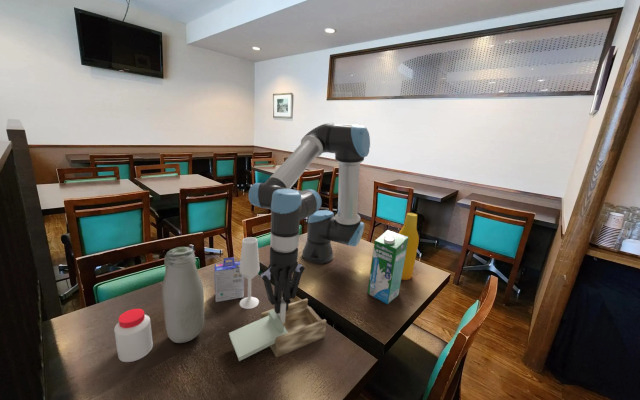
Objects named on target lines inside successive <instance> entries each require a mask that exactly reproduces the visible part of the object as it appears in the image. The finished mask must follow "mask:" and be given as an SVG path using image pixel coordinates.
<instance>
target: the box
mask: <svg viewBox="0 0 640 400" xmlns="http://www.w3.org/2000/svg"><path fill="white" fill-rule="evenodd" d="M308 301H309V299H308V298H307V297H306V298H303V299H300V300H297V301H293V302H290V303H289V305H288V310H287V311H286V315H285V323H283V325H284V327H285V328H286V330H287V331H288V333H287V334H284V335H282V336H279V337H276V343H274V344H272V345H270V346H269V347H270V349H271V351H272V352H273V355H274V356H275V358H279V357H281V356H284V355H286V354H289V353H291V352H294V351H296V350H298V349H301V348H302V347H305V346H307V345H309V344H312V343H314V342H317V341H319V340H322V339H324V338H325V337H326V330H327V320H326V319H325V318H324V319H322V318H321V317H320V316H319V315H318V314H317V313H316V311H315V310H314V309H313V308H312V307H311V306H309V305H308V303H309V302H308ZM271 310H274V308H272V309H268V310H266V311H262V312H260V319H262V318H264V317H266V316H268V315H269V311H271ZM274 311H275V310H274ZM275 313H276V312H275ZM276 314H277V313H276Z"/></svg>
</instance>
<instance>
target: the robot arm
mask: <svg viewBox="0 0 640 400" xmlns="http://www.w3.org/2000/svg"><path fill="white" fill-rule="evenodd" d="M370 137H371V136H370V132H369V130H368V128H367V127H366V126H364V125H361V124H360V125H359V124H355V123H354V124H352V123H334V122H329V123H324V124H320V125H318V126H316V127H315V128H313V129H311V130H310V131H308V132H307V133H306V134H305V135H304V136H303V137H302V138H301V139H300V144H299V145H298V147H296V148H295V150H294V151H293V152H292V153H291V154H290V155H289V156H288V157H287V158H286V159H285V160H284V161H283V163H282V164H281V165H280V166H279V167H278V168H277V169H276V170H275V171H274V172H273V173H272V174H271V175H270V177H268V179H267V180H266V181H265V182H255V183H253V184H252V185H251V186H250V188H249V190H248V195H247V197H248V201H249V202H250V203H249V204H251V205H253V206H254V207H258V208H261V209H267V210H270V218H271V219H270V240H269V241H270V248H269V264H268V265H267V270H266V271H264V272H263V271H262V272H260V273H259V277H260V278H261V279H262V280H263V284H264V288H265V292H266V296H267V299H268V301H269V302H270V304H271V305H272V306H273V307H274V308H273V309H274V310H275V312H276V313H277V316H278V317H279V319H280V320H281V322H282V323H285V315H286V311H287V310H288V305H289V304H290V303H292V301H291V299H295V298H296V296H297V293H298V289H299V285H300V281H301V278H302V275H303V273H304V272H305V270H306V268H305V266H304V265H302V263H299V262H298V256H299V255H298V254H299V242H300V241H299V239H300V221H303V220H304V219H306V218H308V220H307V231H306V232H307V235H306V242H305V245H304V248H303V250H302V252H301V253H302V254H301V257H302V258H303V259H304V260H305V261H307V262H309V263H313V264H326V263H329V262H331V261H332V260H333V258H334V253H333V247H332V244H331V242H335V243H338V244H342V245H346V246H350V247H357V246H358V245H359V243H360V242H361V239H362V236H363V233H364V230H365V222H363V221H361V216H360V214H358V210H359V209H358V206H359V189H360V172H361V168H360V167H361V163H362V162H364V160H365V158H366V157H368V155H369V153H370V148H371V138H370ZM324 153H327V154H328V153H330V154H335V155H334V160H335V161H336V162H337V163H338V185H337V186H338V191H337V192H338V193H337V194H338V196H337V197H338V199H337V200H338V201H337V205H338V206H337V213H336V214H335V215H334V212H333V211H331V210H327V209H325V210H324V209H323V210H322V209H321V210H320V208H321V206H322V198H321V197H322V196H321V195H320V194H319V192H318V191H316V190H314V189H311V188H310V189H304V190H299V189H294V188H293V189H292V187H293V186H294V185H295V183H296V182H297V181H298V180H299V178H300V177H301V176H302V175H303V174H304V172H305V171H306V170H307V169H308V167H309V166H310V165H311V164H312V163H313V161H314V160H315V159H316V158H319V157H321V155H323V154H324ZM271 276H273V279H274V289H273V286H272V281H271ZM273 290H274V291H273Z"/></svg>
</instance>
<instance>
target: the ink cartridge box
mask: <svg viewBox="0 0 640 400" xmlns="http://www.w3.org/2000/svg"><path fill="white" fill-rule="evenodd" d="M239 269H240V260H239V261H235V257H233V256H232V257H231V256H230V257H224V258H223V263H217V264H216V263H215V264H214V291H215V292H214V293H215V295H214V296H215V303H219V302H224V301H229V300H235V299H241V298H242V299H243V298H245V295H244V293H245V285H244V284H245V277H243V276H242V275H241V274H240V271H239Z"/></svg>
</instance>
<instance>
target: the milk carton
mask: <svg viewBox="0 0 640 400" xmlns="http://www.w3.org/2000/svg"><path fill="white" fill-rule="evenodd" d="M398 233H399V232H398ZM398 233H397V232H395V231H391V230H389V229H386V230H385V231H384V232H383V233H382V234H381V235H380V236H379V237H377V238H376V239H375V240H374V245H373V249H372V257H371V265H370V272H369V278H368V287H367V295H369V296H372V297H373V298H375V299H377V300H379V301H381V302H382V303H384V304H385V305H389V304H390V303H391V302H392V301H394V299H396V298H397V297H398V296H399V293H400V288H401V283H402V282H401V281H402V279H401V278H402V272H403V267H404V261H405V255H406V250H407V244H408V238H409V237H407V236H404V235H401V234H398Z"/></svg>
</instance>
